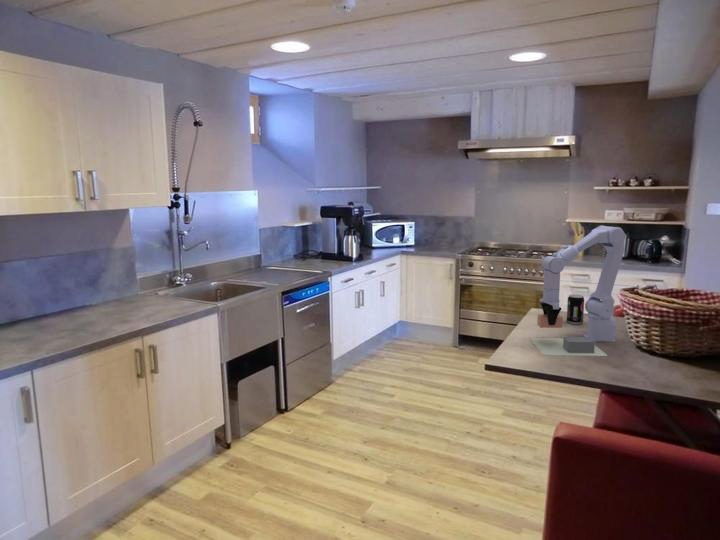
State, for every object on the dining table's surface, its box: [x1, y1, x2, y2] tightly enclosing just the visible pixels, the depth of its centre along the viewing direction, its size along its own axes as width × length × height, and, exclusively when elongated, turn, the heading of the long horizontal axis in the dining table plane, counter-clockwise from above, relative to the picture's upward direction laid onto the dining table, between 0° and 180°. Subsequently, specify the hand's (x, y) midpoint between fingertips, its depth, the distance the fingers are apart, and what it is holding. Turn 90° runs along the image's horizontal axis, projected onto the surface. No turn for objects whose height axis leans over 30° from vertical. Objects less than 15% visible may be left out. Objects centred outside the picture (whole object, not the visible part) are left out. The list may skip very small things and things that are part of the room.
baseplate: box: [529, 337, 608, 357], centre depth 189 cm, size 22×20×1 cm
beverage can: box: [566, 294, 585, 325], centre depth 221 cm, size 7×7×12 cm
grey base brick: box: [563, 336, 596, 353], centre depth 184 cm, size 9×6×4 cm, turn 85°
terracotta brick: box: [536, 313, 564, 329], centre depth 193 cm, size 8×4×4 cm, turn 85°
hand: (549, 323), depth 193 cm, fingers closed on terracotta brick, 4 cm apart
